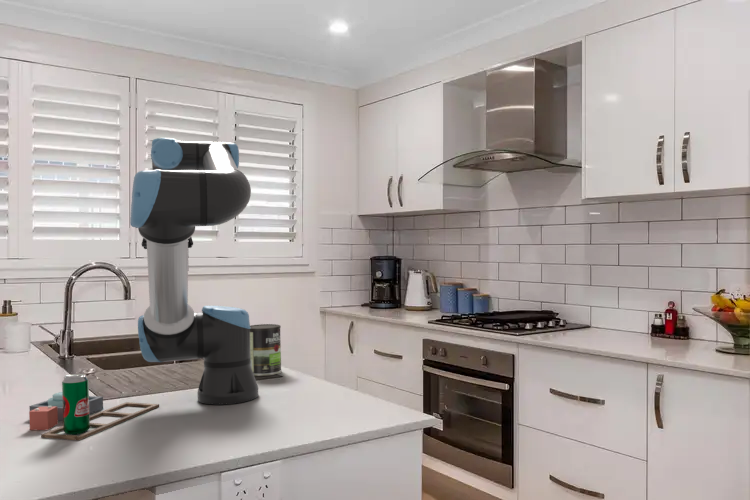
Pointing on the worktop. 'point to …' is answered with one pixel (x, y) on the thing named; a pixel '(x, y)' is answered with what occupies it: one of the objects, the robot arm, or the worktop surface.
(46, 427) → the red cube
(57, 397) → the dome button
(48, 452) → the worktop surface
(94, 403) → the grey tray
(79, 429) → the soda can
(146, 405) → the track
